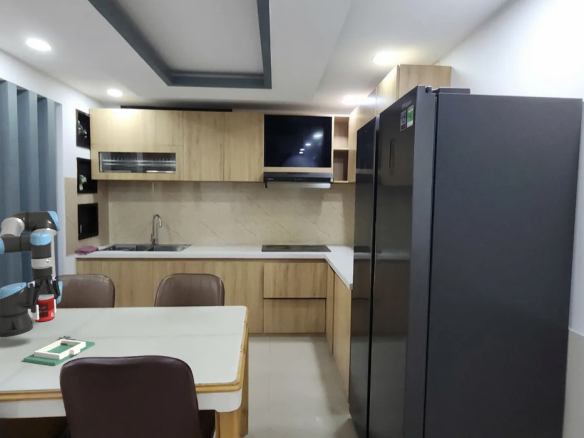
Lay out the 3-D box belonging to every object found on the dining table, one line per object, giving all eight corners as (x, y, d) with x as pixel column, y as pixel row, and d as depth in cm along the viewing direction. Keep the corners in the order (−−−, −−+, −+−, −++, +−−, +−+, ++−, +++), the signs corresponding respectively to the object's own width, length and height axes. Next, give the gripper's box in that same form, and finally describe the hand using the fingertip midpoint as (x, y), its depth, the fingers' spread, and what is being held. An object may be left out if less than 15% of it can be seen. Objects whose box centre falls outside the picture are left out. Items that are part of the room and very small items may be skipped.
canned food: (51, 315, 164) (50, 292, 163) (57, 319, 159) (56, 296, 158) (32, 319, 158) (30, 296, 157) (37, 324, 153) (36, 300, 152)
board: (23, 361, 141) (23, 353, 141) (66, 341, 161) (65, 334, 160) (58, 366, 137) (57, 358, 137) (97, 345, 157) (97, 338, 156)
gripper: (26, 272, 145) (29, 325, 147) (68, 262, 165) (70, 309, 167) (12, 271, 147) (15, 323, 149) (55, 261, 167) (58, 307, 169)
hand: (44, 315), depth 158 cm, fingers closed on canned food, 8 cm apart
